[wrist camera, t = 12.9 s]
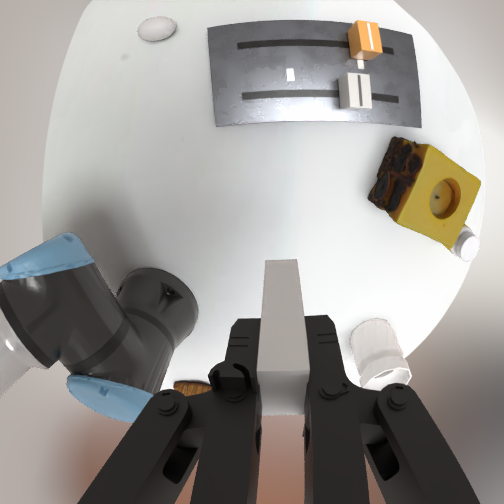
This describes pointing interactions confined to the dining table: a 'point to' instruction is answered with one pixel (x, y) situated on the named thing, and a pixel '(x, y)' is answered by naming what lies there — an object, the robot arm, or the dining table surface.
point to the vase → (378, 355)
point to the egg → (156, 28)
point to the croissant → (191, 388)
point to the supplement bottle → (465, 245)
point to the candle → (424, 190)
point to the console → (307, 74)
